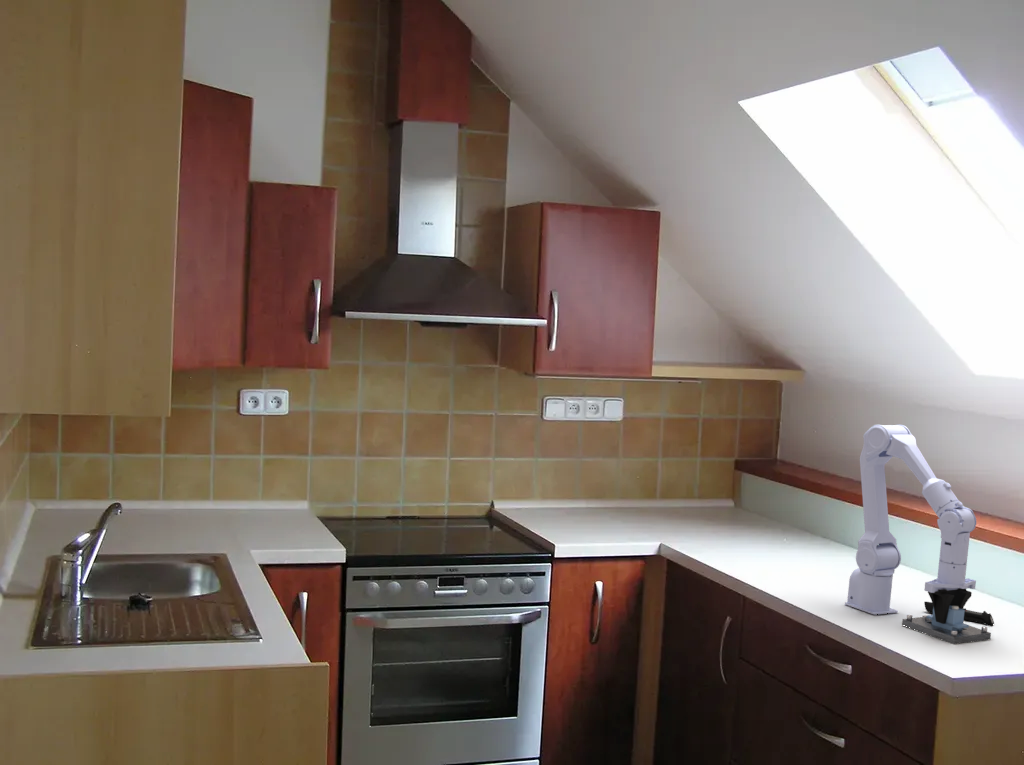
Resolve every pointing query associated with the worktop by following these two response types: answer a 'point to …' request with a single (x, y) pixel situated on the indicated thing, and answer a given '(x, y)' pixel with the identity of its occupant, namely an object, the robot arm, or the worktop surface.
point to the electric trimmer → (968, 615)
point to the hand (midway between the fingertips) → (946, 621)
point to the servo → (951, 619)
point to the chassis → (946, 631)
